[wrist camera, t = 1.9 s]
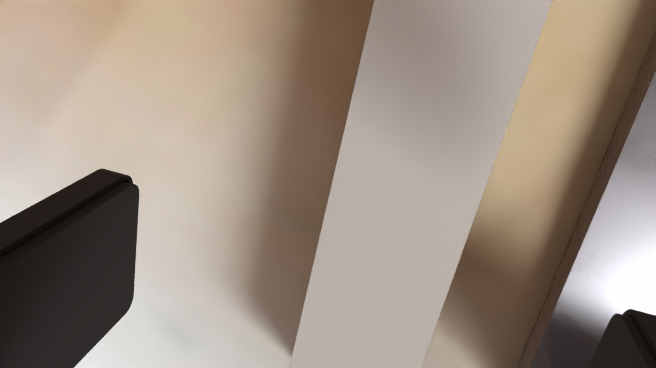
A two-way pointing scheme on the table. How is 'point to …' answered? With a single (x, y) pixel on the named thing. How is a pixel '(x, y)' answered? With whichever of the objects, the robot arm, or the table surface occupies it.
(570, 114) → the table surface
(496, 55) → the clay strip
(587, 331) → the twin post stand
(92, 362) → the table surface
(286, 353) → the table surface
